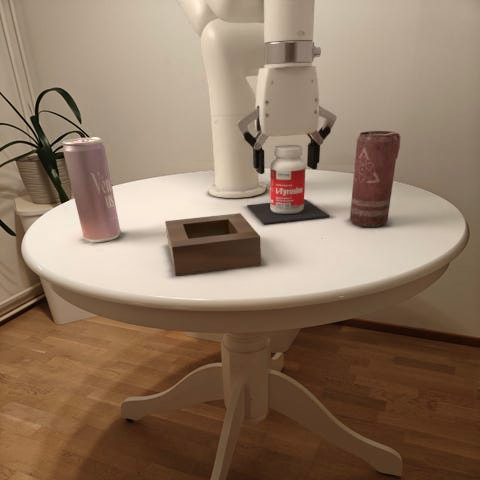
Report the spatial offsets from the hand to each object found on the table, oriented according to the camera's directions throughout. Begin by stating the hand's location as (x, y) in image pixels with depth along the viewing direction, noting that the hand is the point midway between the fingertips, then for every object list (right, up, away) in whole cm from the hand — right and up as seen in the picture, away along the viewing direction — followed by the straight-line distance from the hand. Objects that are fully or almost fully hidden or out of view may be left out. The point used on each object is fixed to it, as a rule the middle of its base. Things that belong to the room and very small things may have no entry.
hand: (286, 170), depth 75 cm
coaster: (0, -6, +4) cm, 7 cm away
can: (+14, -10, -4) cm, 17 cm away
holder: (-12, -17, -14) cm, 25 cm away
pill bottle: (+1, -7, +3) cm, 7 cm away
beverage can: (-31, -13, -5) cm, 34 cm away
